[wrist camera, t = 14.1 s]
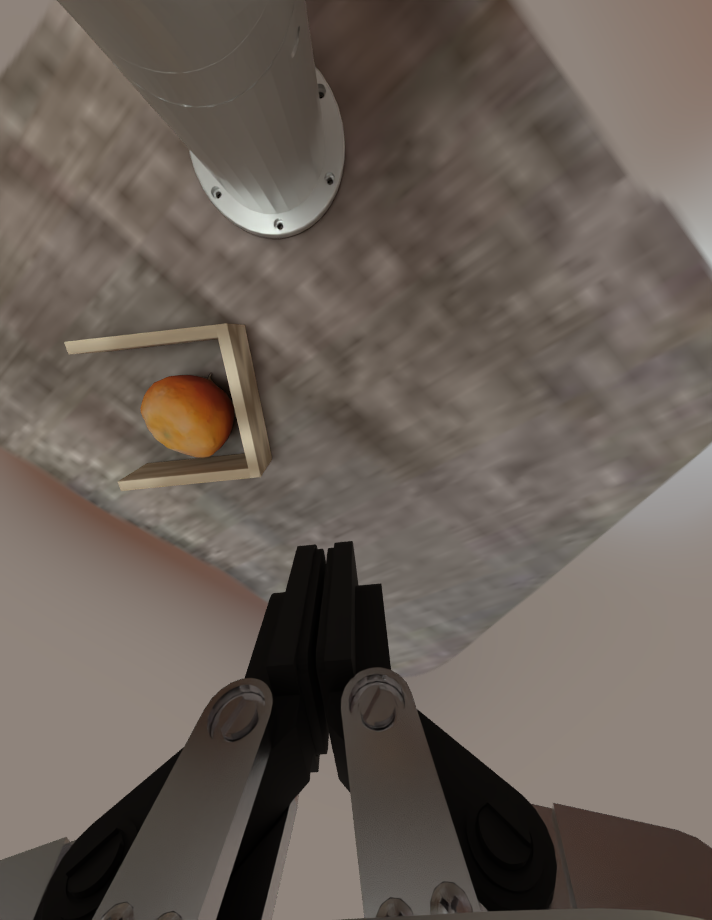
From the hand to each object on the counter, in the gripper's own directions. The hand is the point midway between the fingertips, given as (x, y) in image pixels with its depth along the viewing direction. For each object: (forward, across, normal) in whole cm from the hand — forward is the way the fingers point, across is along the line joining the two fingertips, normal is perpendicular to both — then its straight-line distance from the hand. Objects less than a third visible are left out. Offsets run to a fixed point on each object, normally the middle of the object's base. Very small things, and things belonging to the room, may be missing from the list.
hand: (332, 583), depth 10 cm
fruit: (+27, +15, -1) cm, 31 cm away
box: (+27, +16, -2) cm, 32 cm away
